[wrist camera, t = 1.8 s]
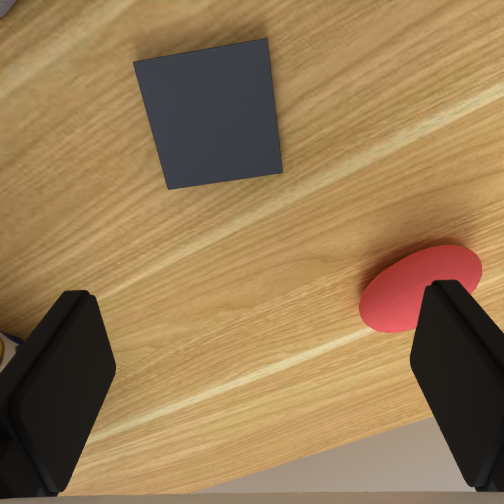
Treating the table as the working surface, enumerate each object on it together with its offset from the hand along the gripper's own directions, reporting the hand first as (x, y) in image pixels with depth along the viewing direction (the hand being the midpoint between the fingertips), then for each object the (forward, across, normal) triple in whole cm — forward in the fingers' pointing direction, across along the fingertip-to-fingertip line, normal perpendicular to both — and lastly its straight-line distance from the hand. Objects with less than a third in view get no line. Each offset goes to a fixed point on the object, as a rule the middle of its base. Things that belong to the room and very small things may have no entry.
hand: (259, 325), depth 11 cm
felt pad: (+17, +3, -3) cm, 18 cm away
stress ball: (+17, -12, +10) cm, 23 cm away
